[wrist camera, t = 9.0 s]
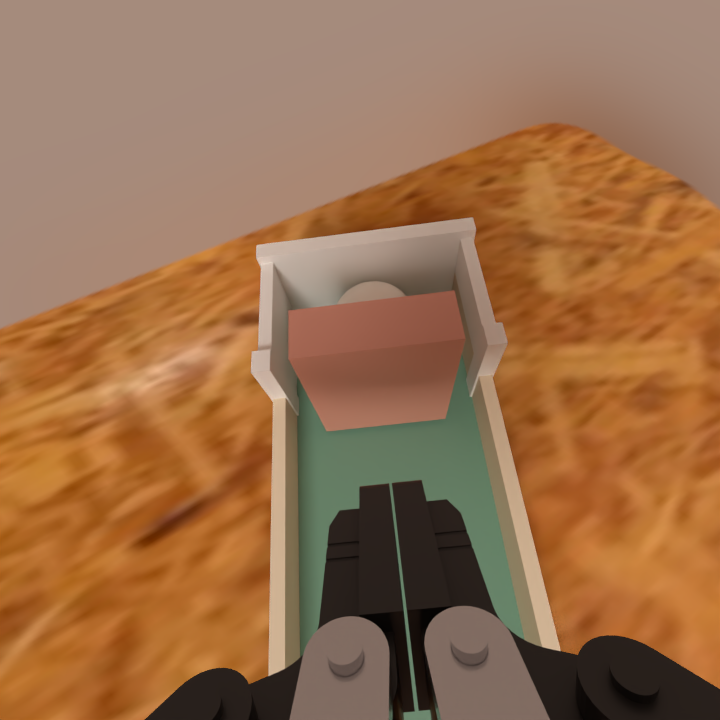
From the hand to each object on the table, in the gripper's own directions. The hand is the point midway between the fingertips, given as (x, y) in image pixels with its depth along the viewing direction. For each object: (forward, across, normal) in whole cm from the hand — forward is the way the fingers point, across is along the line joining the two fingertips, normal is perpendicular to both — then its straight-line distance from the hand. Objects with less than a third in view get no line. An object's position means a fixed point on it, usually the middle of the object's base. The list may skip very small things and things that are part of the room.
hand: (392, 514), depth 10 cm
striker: (+11, 0, +2) cm, 12 cm away
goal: (+15, 0, +1) cm, 15 cm away
